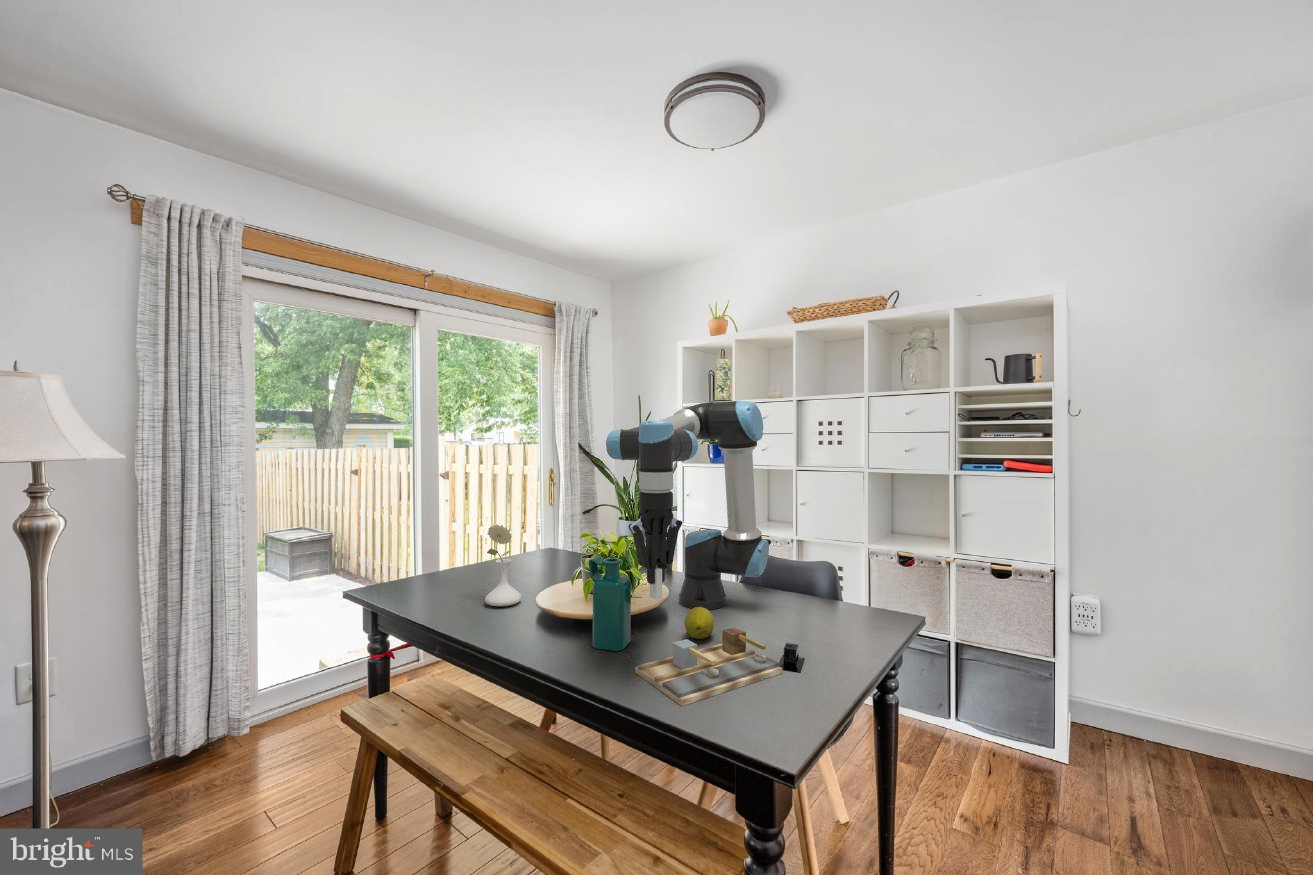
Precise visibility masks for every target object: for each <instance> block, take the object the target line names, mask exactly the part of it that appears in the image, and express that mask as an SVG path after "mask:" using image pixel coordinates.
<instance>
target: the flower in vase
mask: <svg viewBox="0 0 1313 875" xmlns="http://www.w3.org/2000/svg"><path fill="white" fill-rule="evenodd" d="M487 536H489V538H490V539H491V540H492V541H493V542H494V543H495V544H496V546H495V549H493V548H489V549H488V550H487V552H486V554H489V555H492V556H497V555H498V557H499V559H496V560H495V563H496V564H497V567H498V570H499V581H498V584H497V585H496V587H494V588H493V589H492V590H491V591H490V592H489V593H488V594H487V595H486V596H485V598H484V602H485V604H486V605H488V606H489V605H490V606H493V607H508V606H512V605H515V604H517V603H519V602H521V600H522V598H523V596H522V594H521V593H520V592H519V591H518V590H517V589H515V588H514V587H513V586H511V585H510V583H509V582H508V572H509V571H508V570H509V566H510V563H512V562H513V560H512V559H510V558H502V557H505V556H506V555H508V554H509V553H510V552H511V550H512V549H510V550H507V551H505V552H504V553H503V554H501V555H500V553H499V551H498V545H505V544H508V543H511V542H512V541H511V540H512V538H513V536H512V533H511V530H510V529H508V527H504V525H502V524H501V525H499V524H493V525H491V526H489V527H488V530H487Z"/></svg>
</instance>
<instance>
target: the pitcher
mask: <svg viewBox="0 0 1313 875" xmlns="http://www.w3.org/2000/svg"><path fill="white" fill-rule="evenodd" d="M623 562H624V561H623V560H622V559H620V558H616V557H615V558H613V557H611V558H609V557H608V558H604V559H603V557H602V556H600V555H596V556H593V557H591V559H589V560H588V570H589V576H590V579H591V580H592V582H593V585H592V647H593V648H594V649H598V650H603V651H611V652H613V651H614V652H620V651H623V650H625V648H626V647H627V645H629V643H630V642H631V631H632V630H631V628H632V627H631V624H632V623H631V621H632V620H631V619H632V618H631V617H632V616H631V615H632V614H631V612H632V611H631V610H632V609H631V608H632V605H631V604H632V599H631V598H632V596H631V595H632V594H631V593H632V592H631V591H632V588H631V587H632V585H631V584H632V583H631V579H630V578H629V577H628V576H625V575H621V574H620V564H622V563H623ZM598 566H601V567H604V568H605V569H604V574H603V575H602V574H601V573H600V571H599V567H598Z"/></svg>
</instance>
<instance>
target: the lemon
mask: <svg viewBox="0 0 1313 875" xmlns="http://www.w3.org/2000/svg"><path fill="white" fill-rule="evenodd" d="M714 620H715V618H714V617H713V614H712V613H711V611H710V610H709V609H708V610H707V609H705V608H703V607H695V608H690V610H689V611H688V612H687V613H686V615H685V617H684V622H683V623H684V628H685V630H686V633H687V635H688V636H690V637H691V638H693V639H696V640H704V639H706V638H708V637H709V636H711V634H712V633H713V630H714V627H715V626H714V625H715V624H714V623H715V621H714Z"/></svg>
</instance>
